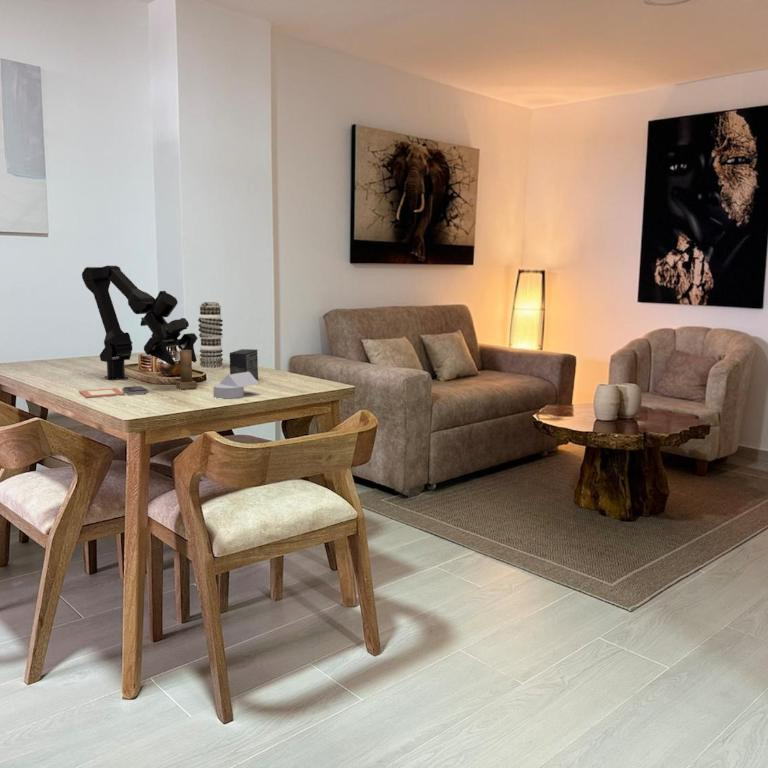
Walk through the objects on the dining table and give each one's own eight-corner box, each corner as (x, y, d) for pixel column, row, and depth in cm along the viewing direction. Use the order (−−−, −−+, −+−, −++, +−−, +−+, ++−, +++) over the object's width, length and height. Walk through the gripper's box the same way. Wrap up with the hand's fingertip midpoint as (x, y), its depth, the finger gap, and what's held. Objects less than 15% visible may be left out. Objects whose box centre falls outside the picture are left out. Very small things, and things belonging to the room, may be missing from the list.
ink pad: (122, 391, 227) (122, 387, 227) (142, 389, 230) (141, 385, 230) (128, 395, 221) (128, 391, 220) (148, 393, 224) (148, 389, 224)
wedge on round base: (239, 391, 232) (207, 396, 221) (239, 370, 231) (207, 374, 220) (259, 394, 226) (227, 400, 216) (259, 373, 225) (227, 378, 215)
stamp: (176, 387, 235) (175, 350, 233) (191, 386, 237) (190, 349, 235) (181, 390, 231) (180, 351, 229) (196, 389, 233) (195, 351, 231)
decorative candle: (198, 370, 273) (197, 303, 268) (199, 366, 281) (197, 301, 277) (223, 369, 275) (222, 303, 271) (223, 366, 284) (222, 301, 279)
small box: (241, 378, 256) (240, 348, 255) (258, 379, 255) (258, 349, 253) (229, 382, 246) (228, 352, 244) (247, 383, 245) (246, 353, 243)
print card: (79, 392, 224) (79, 390, 224) (116, 389, 230) (116, 388, 230) (86, 398, 215) (86, 396, 215) (124, 395, 221) (124, 393, 221)
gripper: (148, 311, 225) (175, 349, 221) (192, 308, 241) (218, 344, 237) (132, 335, 230) (158, 373, 226) (176, 331, 246) (201, 366, 242)
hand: (185, 363), depth 233 cm, fingers open, 9 cm apart
